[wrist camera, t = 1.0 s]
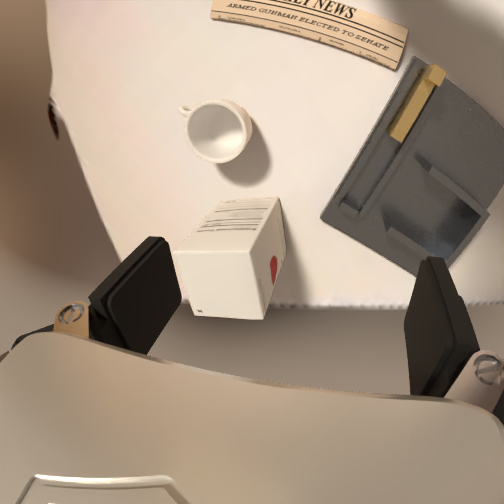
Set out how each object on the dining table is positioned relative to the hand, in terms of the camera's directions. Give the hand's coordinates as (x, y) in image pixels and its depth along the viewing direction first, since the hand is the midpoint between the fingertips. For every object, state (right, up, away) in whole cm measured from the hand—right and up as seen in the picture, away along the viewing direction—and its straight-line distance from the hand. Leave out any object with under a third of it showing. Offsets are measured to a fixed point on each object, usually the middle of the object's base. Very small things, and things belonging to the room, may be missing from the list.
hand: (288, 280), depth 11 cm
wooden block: (+17, +18, +18) cm, 31 cm away
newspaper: (+6, +30, +17) cm, 35 cm away
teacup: (-5, +18, +27) cm, 33 cm away
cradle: (+21, +10, +23) cm, 33 cm away
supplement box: (-1, +5, +34) cm, 34 cm away
